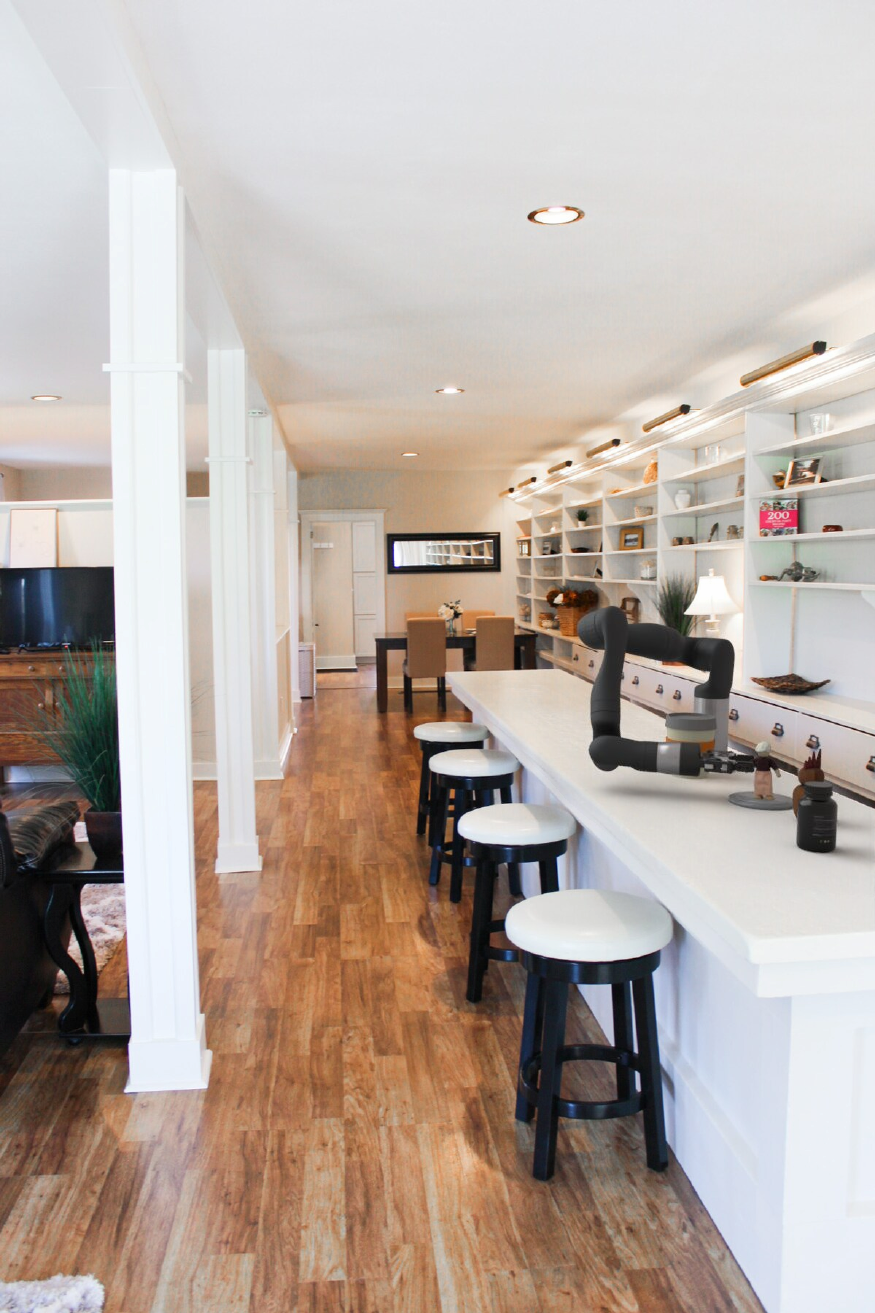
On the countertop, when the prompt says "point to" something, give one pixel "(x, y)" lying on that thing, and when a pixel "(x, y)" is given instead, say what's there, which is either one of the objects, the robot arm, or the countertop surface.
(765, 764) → the grandmother figurine
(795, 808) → the wooden figurine
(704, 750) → the reusable coffee cup
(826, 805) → the supplement bottle
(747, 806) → the slate coaster
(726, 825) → the countertop surface
